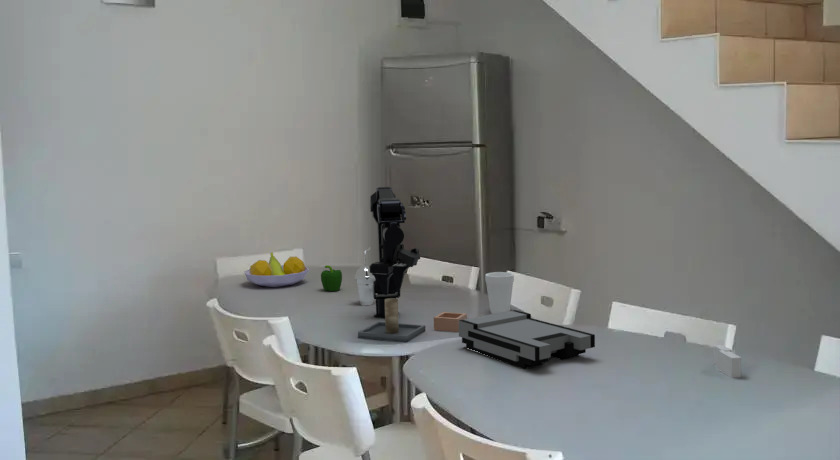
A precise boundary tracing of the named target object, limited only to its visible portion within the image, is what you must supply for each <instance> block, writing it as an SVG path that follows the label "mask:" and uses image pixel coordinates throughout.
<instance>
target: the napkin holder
mask: <svg viewBox="0 0 840 460" xmlns="http://www.w3.org/2000/svg"><path fill="white" fill-rule="evenodd" d="M713 366H716V367H717V370H718V371H720V372H721V373H723V374H724V375H725V376H728V377H729V378H731V379H732V378H734V379H735V378H742V357H741V356H740V355H738V354H735V353H734V352H733V350H732V349H730V348H729V347H726V345H723V344H721V345H720V344H719V345H718V344H717V345H713Z"/></svg>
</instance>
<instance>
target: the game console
mask: <svg viewBox="0 0 840 460" xmlns="http://www.w3.org/2000/svg"><path fill="white" fill-rule="evenodd" d="M458 337H459V338H461V343H462V344H465V347H466V348H469V349H472V350H475V351H478V352H480V353H482V354H485V355H488V356H490V357H489V358H491V357H493V358H492V359H494V358H495V360H497V359H498V360H497V361H499V360H501V361H500V362H502V361H503V362H502V363H505V362H506V364H509V365H511V366H514V367H518V368H521V369H524V370H526V369H530V368H534V367H535V368H536V367H538V366H539V367H540V366H542V365H543V363H546V362H547V363H548V362H549V361H550V359H549V358H553V359H557V360H560V361H564V360H569V359H574V358H577V357H579V356H580V354H585V353H586V350H588V349H592V348H595V347H596V335H595V334H594V333H590V332H586V331H582V330H579V329H575V328H570V327H566V326H563V325H559V324H556V323H550V322H547V321H543V320H540V319H536V318H533V317H532V314H531V313H528V312H524V311H521V310H517V309H514V310H510V311H507V312H502V313H497V314H491V313H490V314H486V315H481V316H476V317H471V318H467V319H464V320H459V332H458ZM466 348H465V349H466ZM482 354H481V355H482ZM485 355H484V356H485ZM488 356H487V357H488Z"/></svg>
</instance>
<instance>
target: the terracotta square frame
mask: <svg viewBox="0 0 840 460" xmlns="http://www.w3.org/2000/svg"><path fill="white" fill-rule="evenodd" d="M464 319H468V313H466V312H465V313H464V312H462V313H461V312H447V311H442V312H440V313H439V314H437V315H436V316H435V315H434V316H433V330H434V331H440V332H443V331H444V332H453V333H459V320H464Z"/></svg>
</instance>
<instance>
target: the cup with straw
mask: <svg viewBox="0 0 840 460" xmlns="http://www.w3.org/2000/svg"><path fill="white" fill-rule="evenodd" d="M370 250H371V246H369V247H368V248H367V249H366V250H365V251H364V253H363V261H364V262H363V263H364V265H362V266H360V267H359V268H358V269H357V271H355V274H354V275H353V279H354V280H355V281H356V282H355V283H356V286H357V291H358V292H357V293H358V300H359V304H360V305H361V306H371V305H372V306H373V304H374V303H373V302H374V298H373V281H375V277H374V275H372V273H370V271H369V266H370V265H367V252H368V251H370Z"/></svg>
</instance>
